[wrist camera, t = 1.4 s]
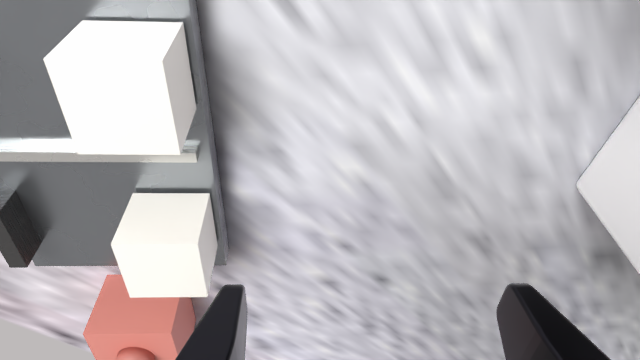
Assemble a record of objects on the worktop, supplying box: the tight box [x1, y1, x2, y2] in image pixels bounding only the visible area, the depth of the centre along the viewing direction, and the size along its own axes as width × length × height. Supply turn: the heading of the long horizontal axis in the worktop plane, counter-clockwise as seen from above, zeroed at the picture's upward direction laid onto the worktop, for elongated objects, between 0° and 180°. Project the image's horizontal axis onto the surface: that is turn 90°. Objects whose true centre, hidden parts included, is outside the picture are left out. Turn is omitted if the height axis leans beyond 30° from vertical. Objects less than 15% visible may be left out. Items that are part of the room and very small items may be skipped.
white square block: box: [43, 20, 196, 155], centre depth 16 cm, size 4×4×3 cm
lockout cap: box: [83, 275, 196, 360], centre depth 27 cm, size 4×4×5 cm
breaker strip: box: [0, 0, 229, 267], centre depth 20 cm, size 10×15×3 cm, turn 178°
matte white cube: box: [111, 193, 218, 298], centre depth 21 cm, size 4×4×3 cm
